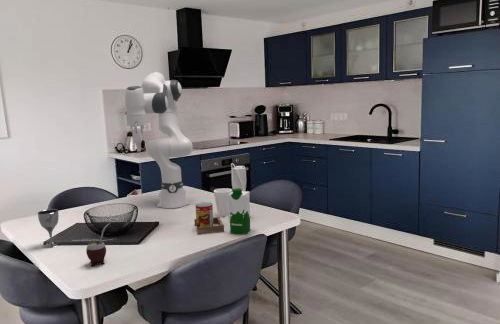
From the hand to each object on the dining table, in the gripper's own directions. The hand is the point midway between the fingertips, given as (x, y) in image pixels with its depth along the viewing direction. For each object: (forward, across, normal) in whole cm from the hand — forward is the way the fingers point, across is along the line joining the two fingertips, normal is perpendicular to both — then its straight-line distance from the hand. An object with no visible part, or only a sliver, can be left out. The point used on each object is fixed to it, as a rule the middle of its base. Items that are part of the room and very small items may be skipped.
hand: (139, 151), depth 198 cm
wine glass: (+37, -13, +39) cm, 56 cm away
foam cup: (+37, +9, -40) cm, 55 cm away
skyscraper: (+37, 0, -47) cm, 60 cm away
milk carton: (+37, -21, -43) cm, 61 cm away
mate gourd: (+37, -41, +16) cm, 58 cm away
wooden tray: (+37, -12, -29) cm, 49 cm away
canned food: (+37, -12, -28) cm, 48 cm away
